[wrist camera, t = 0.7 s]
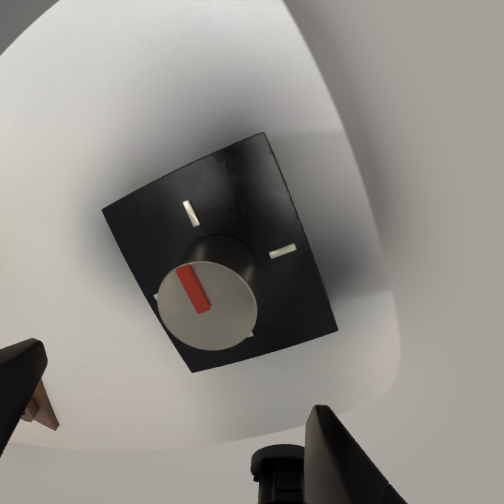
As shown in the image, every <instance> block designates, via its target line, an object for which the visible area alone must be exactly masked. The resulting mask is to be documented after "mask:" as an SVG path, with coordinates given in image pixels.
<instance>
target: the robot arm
mask: <svg viewBox="0 0 504 504" xmlns="http://www.w3.org/2000/svg"><path fill="white" fill-rule="evenodd" d="M47 363H48V359H47V355H46V352H45V348H44V345H43V343H42V342H41V341H40V340H37V339H35V338H30V339H28V340H25V341H22V342H19V343H17V344H14V345H11V346H8V347H6V348H3V349H0V457H1V455H2V453H3V451H4V449H5V447H6V445H7V443H8V441H9V439H10V437H11V435H12V433H13V431H14V430H15V428H16V426H17V424H18V422H19V420H20V418H21V417H22V415H23V413H24V411H25V409H26V408H27V406H28V404H29V402H30V400H31V399H32V397H33V395H34V392H35V390H36V388H37V386H38V384H39V381H40V379H41V377H42V375H43V373H44V371H45V369H46V367H47ZM253 481H255V482H259V493H258V504H408V503H407V502H406V501H405V500H404V499H403V498H402V497H401V496H400V495H399V494H398V493H397V491H396V490H395V489H394V488H393V487H392V485H391V484H389V482H388V480H387V479H386V478H385V477H384V476H383V474H382V473H381V472H380V471H379V470H378V468H377V467H376V466H375V464H374V463H373V462H372V461H371V460H370V458H369V457H368V456H367V454H366V453H365V452H364V451H363V450H362V448H361V447H360V446H359V445H358V443H357V442H356V441H355V439H354V438H353V437H352V436H351V435H350V433H349V432H348V430H347V429H346V428H345V427H344V425H343V424H342V423H341V421H340V420H339V419H338V418H337V416H336V415H335V414H334V412H333V411H332V410H331V409H330V407H329V406H327V405H314V407H313V408H312V411H311V413H310V415H309V417H308V420H307V423H306V432H305V455H304V460H292V459H279V458H268V457H264V458H262V459H261V461H260V463H259V465H258V468H257V470H256V473H255V475H254V477H253Z"/></svg>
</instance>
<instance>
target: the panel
mask: <svg viewBox="0 0 504 504" xmlns="http://www.w3.org/2000/svg"><path fill="white" fill-rule="evenodd" d="M102 212H103V214H104V217H105V219H106V221H107V223H108V225H109V227H110V230H111V232H112V234H113V236H114V238H115V240H116V242H117V244H118V246H119V248H120V250H121V252H122V254H123V256H124V258H125V260H126V262H127V264H128V266H129V268H130V270H131V272H132V273H133V275H134V277H135V279H136V281H137V283H138V285H139V286H140V288H141V290H142V292H143V294H144V296H145V297H146V299H147V301H148V303H149V304H150V306H151V308H152V310H153V311H154V313H155V315H156V316H157V318H158V320H159V322H160V323H161V325H162V327H163V328H164V330H165V331H166V333H167V335H168V336H169V338H170V340H171V341H172V343H173V344H174V346H175V348H176V349H177V351H178V352H179V354H180V355H181V357H182V359H183V360H184V362H185V363H186V365H187V366H188V368H189V369H190V371H191V372H192V373H194V372H199V371H203V370H207V369H212V368H216V367H220V366H224V365H228V364H231V363H235V362H239V361H243V360H247V359H250V358H254V357H257V356H261V355H264V354H268V353H271V352H275V351H278V350H281V349H284V348H288V347H291V346H294V345H297V344H300V343H304V342H307V341H310V340H313V339H316V338H319V337H322V336H324V335H327V334H330V333H333V332H336V331H338V327H337V324H336V321H335V318H334V315H333V312H332V309H331V306H330V303H329V300H328V297H327V294H326V291H325V288H324V285H323V282H322V279H321V277H320V274H319V271H318V268H317V265H316V262H315V260H314V257H313V254H312V251H311V248H310V246H309V243H308V240H307V237H306V235H305V232H304V229H303V227H302V224H301V221H300V219H299V216H298V214H297V211H296V208H295V206H294V203H293V201H292V198H291V195H290V193H289V190H288V188H287V185H286V183H285V180H284V178H283V175H282V173H281V170H280V168H279V166H278V163H277V161H276V158H275V156H274V153H273V151H272V149H271V146H270V144H269V141H268V139H267V137H266V134H265V132H261V133H258V134H256V135H253V136H251V137H249V138H246V139H244V140H241V141H239V142H236V143H234V144H232V145H229V146H227V147H225V148H222V149H220V150H218V151H216V152H213V153H211V154H209V155H207V156H204V157H202V158H200V159H198V160H196V161H194V162H191V163H189V164H187V165H185V166H183V167H181V168H179V169H177V170H175V171H173V172H171V173H169V174H167V175H165V176H163V177H161V178H159V179H157V180H155V181H153V182H151V183H149V184H147V185H145V186H143V187H141V188H139V189H137V190H136V191H134V192H132V193H130V194H128V195H126V196H125V197H123V198H121V199H119V200H117V201H116V202H114V203H112V204H110V205H108V206H107V207H105V208H103V209H102ZM211 235H225V236H230V237H232V238H235V239H237V240H239V241H241V242H242V243H244V244H245V245H246V246H248V247H249V248H250V250H251V251H252V252H253V253H254V255H255V256H256V258H257V260H258V263H259V266H260V273H261V277H260V289H259V300H258V311H257V319H256V323H255V325H254V328H253V329H252V331H251V333H250V334H249V335H248V336H247V337H246V338H245V339H244V340H243V341H242V342H240V343H239V344H237V345H235V346H233V347H230V348H227V349H223V350H202V349H198V348H195V347H192V346H190V345H188V344H185V343H184V342H182V341H180V340H179V339H178V338H176V337H175V336H174V335H173V334H172V333H171V332H170V331H169V330H168V329H167V327H166V326H165V324H164V323H163V321H162V319H161V316H160V314H159V310H158V303H157V297H158V291H159V288H160V285H161V283H162V281H163V279H164V278H165V277H166V275H167V274H168V273H169V272H170V270H171V269H172V268H173V267H174V265H175V264H176V263H177V262H178V260H179V259H180V258H181V257H182V255H183V254H184V253H185V252H186V250H187V249H188V248H189V247H190V246H191V245H192V244H193V243H194V242H196V241H197V240H199V239H201V238H203V237H206V236H211Z"/></svg>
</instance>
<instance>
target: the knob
mask: <svg viewBox="0 0 504 504" xmlns="http://www.w3.org/2000/svg"><path fill="white" fill-rule="evenodd" d="M260 277H261V273H260V266H259V263H258V260H257V258H256V256H255V255H254V253H253V252H252V251H251V250H250V248H249V247H248V246H246V245H245V244H244V243H242V242H241V241H239V240H237V239H235V238H232V237H230V236H225V235H211V236H206V237H203V238H201V239H199V240H197V241H196V242H194V243H193V244H192V245H191V246H190V247H189V248H188V249H187V250H186V252H185V253H184V254H183V255H182V257H181V258H180V259H179V260H178V262H177V263H176V264H175V265H174V267H173V268H172V269H171V270H170V272H169V273H168V274H167V275H166V277H165V278H164V279H163V281H162V283H161V285H160V288H159V291H158V297H157V303H158V310H159V314H160V316H161V319H162V321H163V323H164V324H165V326H166V327H167V329H168V330H169V331H170V332H171V333H172V334H173V335H174V336H175V337H176V338H178V339H179V340H180V341H182V342H184V343H185V344H188V345H190V346H192V347H195V348H198V349H202V350H223V349H227V348H230V347H233V346H235V345H237V344H239V343H240V342H242V341H243V340H244V339H245V338H246V337H247V336H248V335H249V334H250V333H251V331H252V329H253V328H254V325H255V323H256V319H257V311H258V300H259V289H260Z"/></svg>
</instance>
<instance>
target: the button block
mask: <svg viewBox="0 0 504 504" xmlns="http://www.w3.org/2000/svg"><path fill="white" fill-rule="evenodd" d="M21 419H22V420H24V421H27V422H32V421H33V419H34V420H35V421H37V422H39V423H41V424H43V425H45V426H47V427H49V428H51V429H53V430H55V431H56V429H57V428H58V426H59V424H58V422H57V419H56V417H55V415H54V412H53V410H52V408H51V405H50V403H49V400H48V398H47V395H46V392H45V390H44V387H43V384H42V381H41V379H40V381H39V384H38V386H37V388H36V390H35V392H34V395H33V397H32V399H31V400H30V402H29V404H28V406H27V408H26V409H25V411H24V413H23V415H22V417H21Z"/></svg>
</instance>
